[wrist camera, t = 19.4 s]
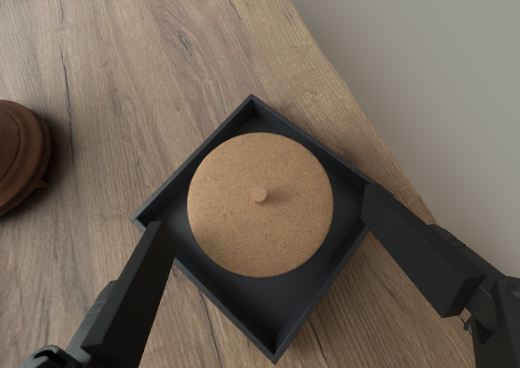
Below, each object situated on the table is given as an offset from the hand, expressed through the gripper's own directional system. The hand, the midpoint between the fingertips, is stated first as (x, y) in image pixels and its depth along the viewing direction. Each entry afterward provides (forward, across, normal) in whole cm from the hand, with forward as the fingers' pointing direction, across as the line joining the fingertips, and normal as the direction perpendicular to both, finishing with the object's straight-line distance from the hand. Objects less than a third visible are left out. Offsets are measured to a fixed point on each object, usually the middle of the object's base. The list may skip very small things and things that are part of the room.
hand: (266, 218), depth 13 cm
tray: (+8, 0, -5) cm, 9 cm away
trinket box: (+8, 0, -5) cm, 9 cm away
